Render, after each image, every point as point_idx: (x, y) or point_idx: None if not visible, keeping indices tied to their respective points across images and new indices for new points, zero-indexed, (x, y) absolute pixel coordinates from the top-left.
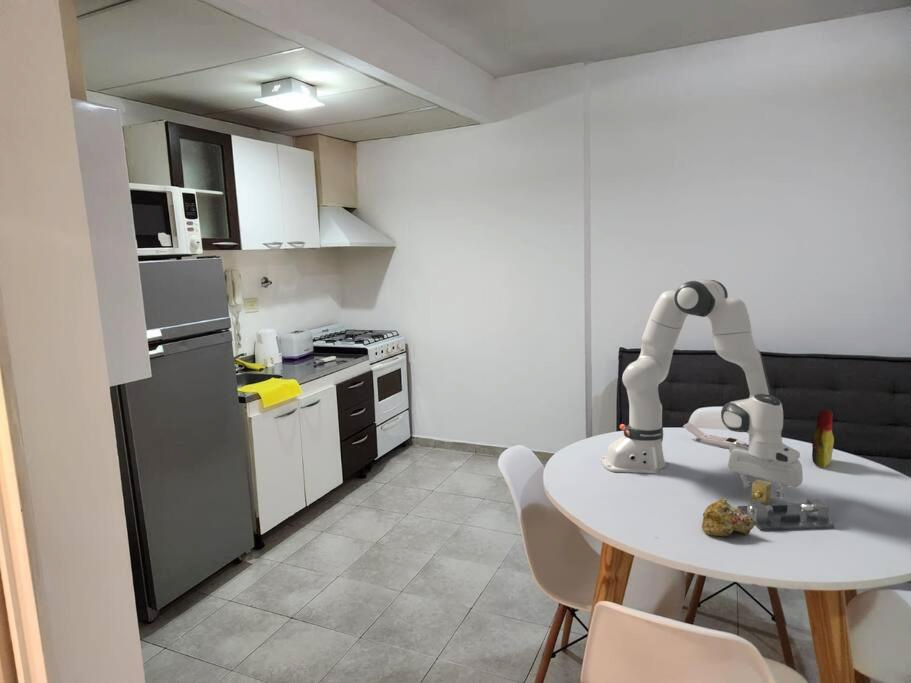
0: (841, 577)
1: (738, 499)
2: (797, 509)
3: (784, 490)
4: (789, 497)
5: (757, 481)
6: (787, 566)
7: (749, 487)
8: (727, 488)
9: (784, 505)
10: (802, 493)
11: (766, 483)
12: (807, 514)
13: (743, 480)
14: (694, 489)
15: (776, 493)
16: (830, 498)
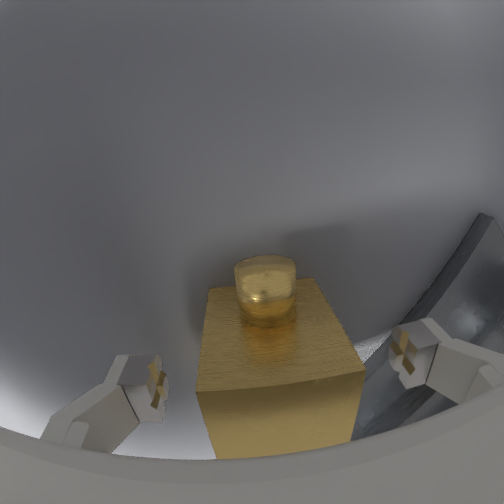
0: None
1: (174, 405)
2: (471, 324)
3: (458, 341)
4: (387, 126)
5: (231, 434)
6: None
7: (160, 367)
8: (38, 317)
9: (435, 401)
10: (402, 5)
11: (324, 413)
12: (498, 333)
13: (118, 434)
14: (19, 412)
15: (400, 376)
16: (494, 13)
